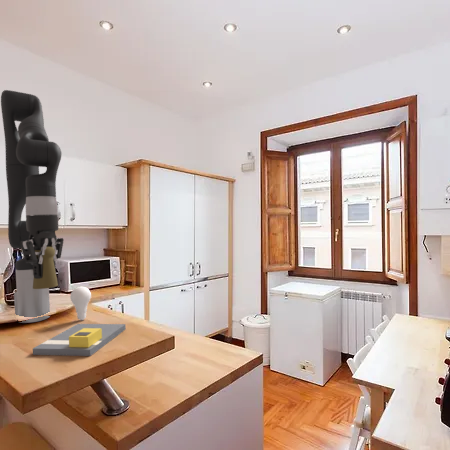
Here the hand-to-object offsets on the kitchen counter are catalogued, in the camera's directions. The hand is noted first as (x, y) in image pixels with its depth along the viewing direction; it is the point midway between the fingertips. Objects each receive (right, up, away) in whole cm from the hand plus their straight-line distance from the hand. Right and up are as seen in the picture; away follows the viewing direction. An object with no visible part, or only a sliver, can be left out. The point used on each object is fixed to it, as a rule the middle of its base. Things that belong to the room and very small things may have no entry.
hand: (45, 276), depth 85 cm
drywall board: (+11, -17, -2) cm, 20 cm away
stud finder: (+15, -15, -7) cm, 22 cm away
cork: (0, -3, 0) cm, 3 cm away
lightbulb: (+2, -17, +17) cm, 24 cm away
